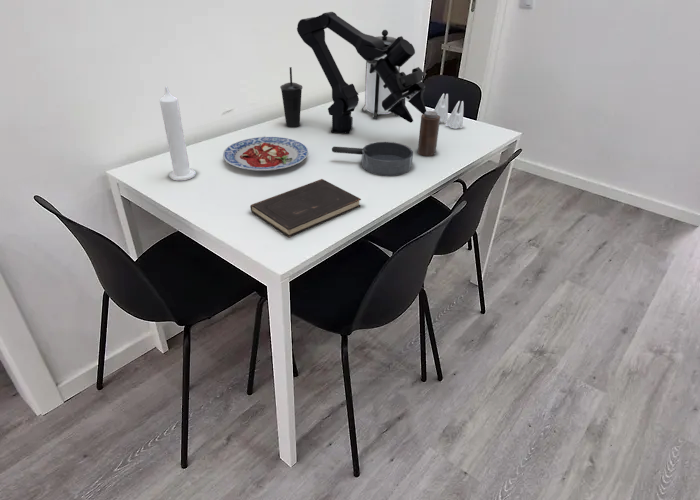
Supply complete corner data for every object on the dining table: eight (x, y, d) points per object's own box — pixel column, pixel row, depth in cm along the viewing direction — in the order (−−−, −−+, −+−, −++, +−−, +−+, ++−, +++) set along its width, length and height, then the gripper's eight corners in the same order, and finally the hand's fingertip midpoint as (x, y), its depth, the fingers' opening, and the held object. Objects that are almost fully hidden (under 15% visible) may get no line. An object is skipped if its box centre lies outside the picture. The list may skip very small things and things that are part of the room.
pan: (358, 173, 142) (359, 159, 140) (364, 153, 155) (365, 140, 152) (410, 177, 140) (412, 163, 138) (412, 157, 153) (413, 143, 151)
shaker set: (429, 122, 181) (432, 92, 174) (435, 119, 183) (439, 90, 177) (457, 130, 174) (461, 99, 168) (463, 127, 177) (467, 97, 170)
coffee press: (405, 110, 192) (412, 28, 175) (391, 122, 180) (398, 35, 163) (365, 103, 198) (368, 23, 181) (349, 115, 185) (350, 30, 169)
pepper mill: (417, 155, 154) (421, 115, 147) (417, 148, 159) (421, 109, 152) (435, 157, 154) (440, 116, 146) (435, 150, 158) (440, 110, 151)
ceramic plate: (206, 158, 149) (205, 149, 147) (272, 137, 165) (271, 128, 163) (259, 184, 134) (258, 175, 133) (325, 158, 150) (325, 149, 149)
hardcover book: (360, 206, 125) (361, 198, 124) (289, 237, 112) (288, 229, 111) (320, 185, 135) (320, 178, 134) (250, 211, 122) (249, 203, 121)
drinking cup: (307, 123, 177) (305, 66, 166) (298, 129, 171) (296, 71, 160) (287, 120, 179) (285, 63, 168) (278, 126, 173) (275, 68, 162)
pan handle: (331, 153, 147) (331, 147, 146) (332, 150, 148) (332, 145, 147) (366, 155, 146) (367, 150, 145) (367, 153, 147) (367, 147, 146)
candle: (172, 182, 134) (153, 91, 121) (167, 172, 140) (149, 84, 126) (198, 178, 137) (183, 88, 123) (192, 168, 142) (177, 81, 129)
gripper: (392, 65, 139) (423, 111, 140) (422, 54, 152) (450, 96, 153) (368, 88, 147) (397, 131, 148) (399, 76, 160) (425, 115, 161)
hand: (419, 118), depth 152 cm, fingers open, 9 cm apart
